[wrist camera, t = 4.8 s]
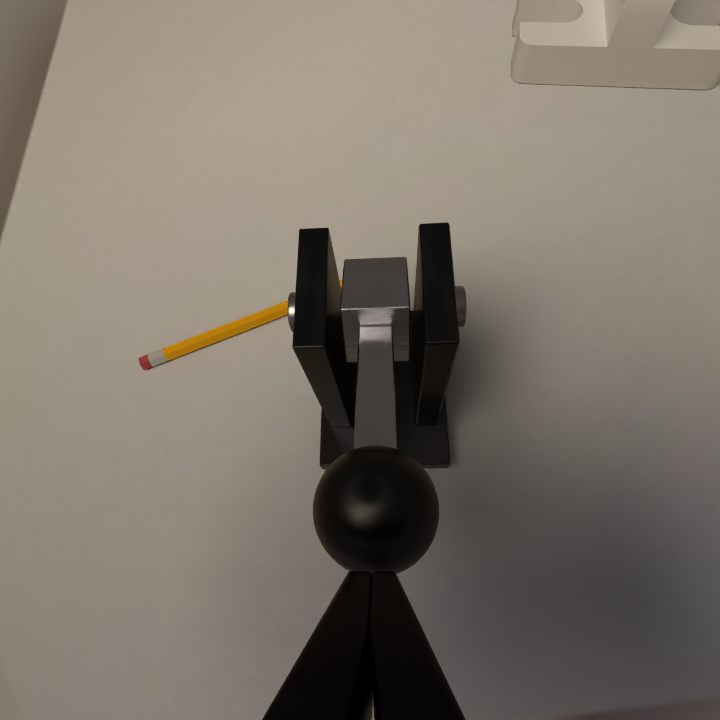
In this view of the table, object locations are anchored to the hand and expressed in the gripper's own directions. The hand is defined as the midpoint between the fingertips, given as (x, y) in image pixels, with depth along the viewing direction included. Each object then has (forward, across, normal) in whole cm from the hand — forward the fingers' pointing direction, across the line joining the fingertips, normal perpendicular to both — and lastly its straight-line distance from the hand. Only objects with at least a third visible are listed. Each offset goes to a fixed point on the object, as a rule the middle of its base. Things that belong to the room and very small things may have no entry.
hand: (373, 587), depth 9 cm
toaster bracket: (+16, 0, +4) cm, 16 cm away
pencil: (+19, +7, +1) cm, 20 cm away
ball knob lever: (+7, 0, +1) cm, 7 cm away
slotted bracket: (+33, -16, -13) cm, 39 cm away
